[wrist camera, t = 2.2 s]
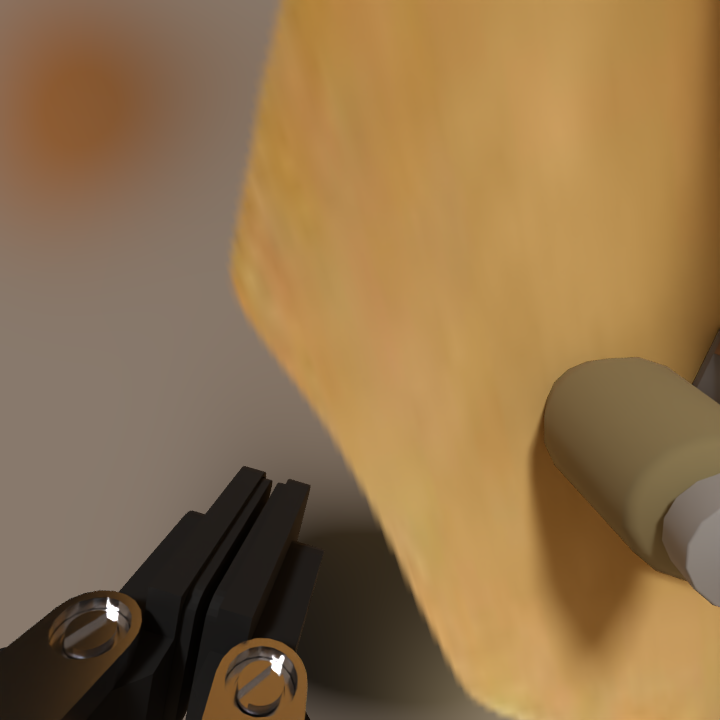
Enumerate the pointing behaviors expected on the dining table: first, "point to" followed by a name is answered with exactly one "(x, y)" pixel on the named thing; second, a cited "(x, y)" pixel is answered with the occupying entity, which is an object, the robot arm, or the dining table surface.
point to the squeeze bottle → (644, 461)
